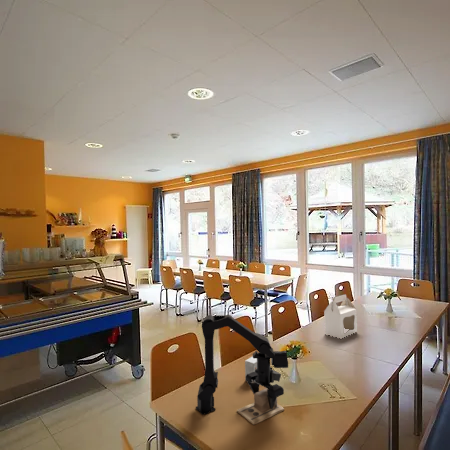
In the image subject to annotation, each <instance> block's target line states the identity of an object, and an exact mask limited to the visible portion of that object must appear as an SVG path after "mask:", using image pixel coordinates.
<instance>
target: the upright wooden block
mask: <svg viewBox="0 0 450 450" xmlns="http://www.w3.org/2000/svg"><path fill="white" fill-rule="evenodd" d="M253 395H254V397H253V403H254V407H255V408H256V409H257V410H259V411H260V412H262V413H263V412H265V411H267V410H270V406H269V402H268V398H267V395H268V393H267V388H264V389H262V390H259V392H256V393H254V394H253ZM273 408H274V407H273Z"/></svg>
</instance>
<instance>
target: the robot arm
mask: <svg viewBox="0 0 450 450" xmlns="http://www.w3.org/2000/svg"><path fill="white" fill-rule="evenodd" d="M226 327H228V328H230V329H231V330H232V331H234V332H236V334H238V335H239V336H241V337H243V338H244V339H245V340H246V341H248V342H249V343H250V344H251V345H252V346H253V348H254V349H255V351H254V352H253V353H252V356H253V358H257V369H255V372H252V373H249V374H247V375H246V381H245V382H247V385H249V388H250V390H251V393H252V394H253V395H254V393H256V392H259V391H260V386H261V387H264V388H265V389H267V393H268V395H267V398H268V402H269V406H270V409H273V407H274V404H275V401H276V399H277V400H278V397H281V396H283V395H285V394H284V393H285V392H284V390H285V389H284V387H283V386H281V385H279V384H277V383H275V384H273V383H274V382H280V380H281V375H282V374H281V373H280V372H278V371H277V370H274V369H273V368H275V369H288V368H289V360H288V353H287V351H286V350H278V351H275V350H274V348H273V347H272V346H271V344H270V341H269V338H267V336H264V335H262V334H260V333H258V332H254V331H252V330H251V329H250V328H249V327H247V326H245V324H243V323H241V322H240V321H238V320H237V319H235V317H233V316H232V315H231V314H226V315H225V314H224V315H206V316H204V317H203V319H202V323H201V328H202V329H201V330H202V335H203V338H204V371H205V372H204V377H203V382H202V383H200V385H199V386H198V391H197V395H196V397H197V398H196V399H197V404H196V405H197V406H195V409H196V410H197V411H198V412H199V413H200V414H201V415H204V416H205V415H206V414H209V413H212V412H213V411H216V407H215V397H214V394H215V393H216V390H217V389H218V387H219V379H218V375H219V372H218V371H216V370H215V363H214V361H215V359H214V357H215V352H214V341H215V340H214V337H215V331H216V330H221V329H222V328H226ZM272 366H273V367H272ZM272 384H273V385H272Z"/></svg>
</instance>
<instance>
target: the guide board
mask: <svg viewBox="0 0 450 450" xmlns="http://www.w3.org/2000/svg"><path fill="white" fill-rule="evenodd" d="M283 411H285V408H284V407H283V406H282V405H280V404H278V398H277V399H276V401H275V404H274V408H273V409H270V410H267V411H265V412H263V413H262V412H260V411H259V410H257V409H256V408H255V407H254V402H253V403H250V404H248V405H247V404H246V405H245V406H243V407H240V408H238V409H236V412H237V413H238V414H239V415H241V416H242V417H243V418H245V419H246V420H247V421H248V422H249V423H251V424H252V425H253V426H254V425H257V424H258V423H261V422H263V421H265V420H267V419H269V418H271V417H273V416H275V415H277V414H279V413H281V412H283Z"/></svg>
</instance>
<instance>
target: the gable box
mask: <svg viewBox="0 0 450 450" xmlns="http://www.w3.org/2000/svg"><path fill="white" fill-rule="evenodd" d="M331 300H332V301H330V303H329V304H328V305H327V306H326V308H325V309H324V310H323V312H324V314H323V315H324V335H325V334H326V336H328V335H330V336H329V337H332V336H333V337H332V338H335V337H337V338H336V339H339V338H340V340H343V339H345V338H347V337H349V336H348V335H350V336H352V335H353V333H354V334H356V333H355V332H357V331H358V329H357V308H356V307H355V305H354V304H353V303H352V301H351V300H350V299H349V297H347V294H340V295H337V296H334V297H333V298H332V297H331ZM338 303H340V305H338ZM344 328H345V329H349V330H348V331H347V332H346V333H344ZM357 333H358V332H357ZM351 334H352V335H351ZM346 336H347V337H346ZM344 337H345V338H344ZM342 338H343V339H342Z"/></svg>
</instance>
